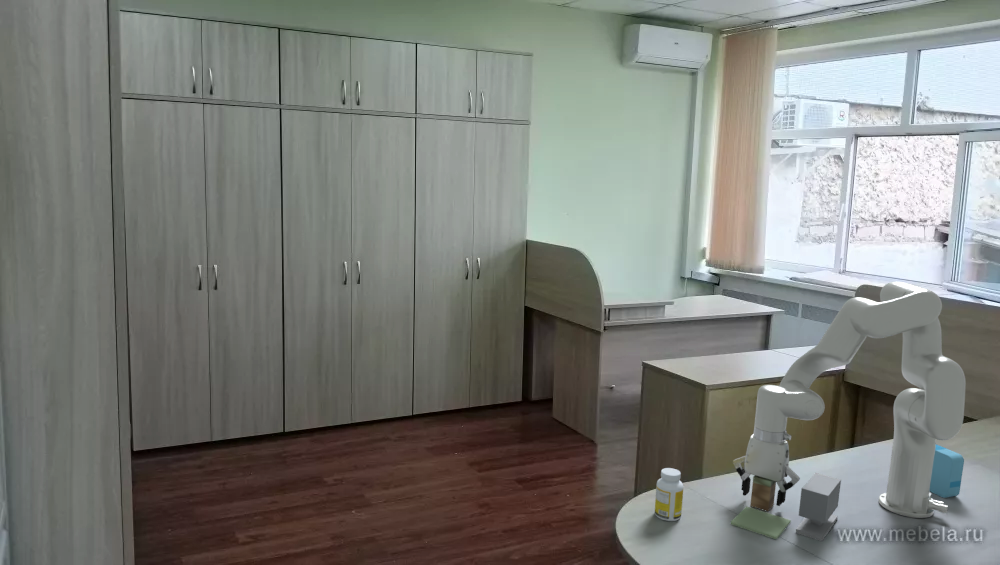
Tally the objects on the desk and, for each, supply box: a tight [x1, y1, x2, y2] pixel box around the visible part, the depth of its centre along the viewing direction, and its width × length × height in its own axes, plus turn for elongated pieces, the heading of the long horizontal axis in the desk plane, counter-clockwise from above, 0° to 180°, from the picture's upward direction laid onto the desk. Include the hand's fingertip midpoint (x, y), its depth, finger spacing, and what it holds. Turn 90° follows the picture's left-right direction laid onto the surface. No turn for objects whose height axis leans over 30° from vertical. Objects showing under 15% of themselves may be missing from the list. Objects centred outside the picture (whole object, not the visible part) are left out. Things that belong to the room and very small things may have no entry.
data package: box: [929, 444, 965, 499], centre depth 202 cm, size 12×4×12 cm, turn 20°
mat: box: [730, 506, 792, 540], centre depth 180 cm, size 11×11×1 cm
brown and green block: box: [750, 475, 777, 512], centre depth 189 cm, size 4×4×8 cm
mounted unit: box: [795, 472, 842, 542], centre depth 179 cm, size 6×14×11 cm, turn 142°
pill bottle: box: [654, 467, 684, 522], centre depth 181 cm, size 6×6×12 cm
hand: (762, 498), depth 189 cm, fingers open, 8 cm apart
